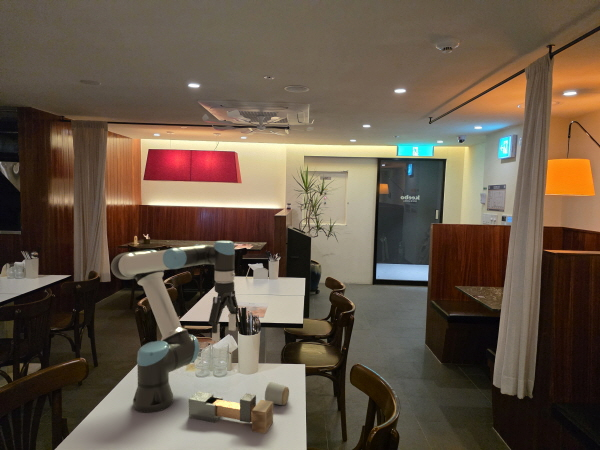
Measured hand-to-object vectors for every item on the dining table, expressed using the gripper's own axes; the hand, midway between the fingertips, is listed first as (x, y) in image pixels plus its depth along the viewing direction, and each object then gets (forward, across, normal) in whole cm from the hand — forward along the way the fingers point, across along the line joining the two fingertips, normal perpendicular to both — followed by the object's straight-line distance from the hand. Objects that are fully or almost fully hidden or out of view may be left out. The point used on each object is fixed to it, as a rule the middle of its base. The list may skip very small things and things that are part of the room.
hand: (224, 335), depth 161 cm
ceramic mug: (+29, +12, -18) cm, 36 cm away
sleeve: (+29, -8, +3) cm, 30 cm away
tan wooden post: (+27, -8, -10) cm, 30 cm away
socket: (+29, -8, -20) cm, 36 cm away
